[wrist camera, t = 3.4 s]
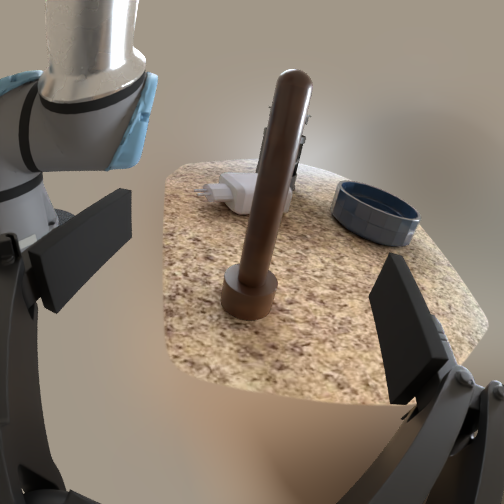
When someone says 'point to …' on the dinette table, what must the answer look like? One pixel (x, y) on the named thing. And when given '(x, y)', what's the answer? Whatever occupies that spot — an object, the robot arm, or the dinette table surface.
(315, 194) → the dinette table surface
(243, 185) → the charger
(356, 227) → the bowl
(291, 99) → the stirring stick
